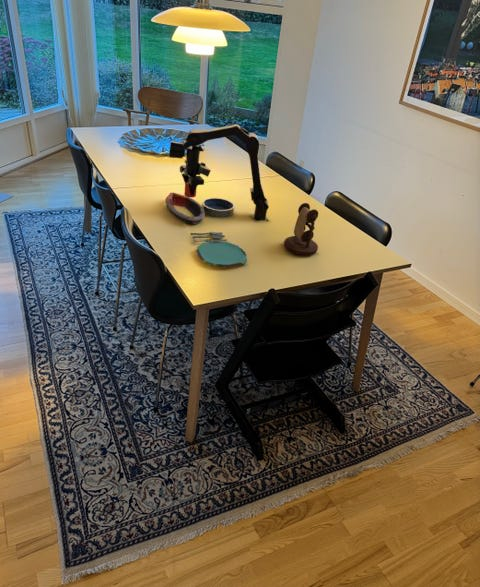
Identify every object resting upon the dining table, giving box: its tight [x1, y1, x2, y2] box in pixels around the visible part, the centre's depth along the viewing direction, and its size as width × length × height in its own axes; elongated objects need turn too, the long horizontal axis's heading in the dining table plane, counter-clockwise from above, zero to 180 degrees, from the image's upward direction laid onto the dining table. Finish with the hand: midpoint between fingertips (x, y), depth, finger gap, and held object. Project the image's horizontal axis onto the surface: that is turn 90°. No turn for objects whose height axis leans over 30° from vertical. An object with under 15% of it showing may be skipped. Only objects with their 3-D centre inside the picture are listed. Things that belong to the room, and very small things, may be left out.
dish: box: [164, 191, 206, 225], centre depth 210 cm, size 16×31×5 cm, turn 26°
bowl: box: [201, 197, 235, 219], centre depth 216 cm, size 15×15×4 cm
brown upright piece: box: [283, 202, 319, 256], centre depth 190 cm, size 15×15×20 cm
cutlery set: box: [190, 231, 248, 267], centre depth 183 cm, size 20×30×2 cm, turn 19°
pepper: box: [183, 182, 197, 198], centre depth 207 cm, size 5×5×7 cm
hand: (190, 192), depth 209 cm, fingers closed on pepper, 5 cm apart
